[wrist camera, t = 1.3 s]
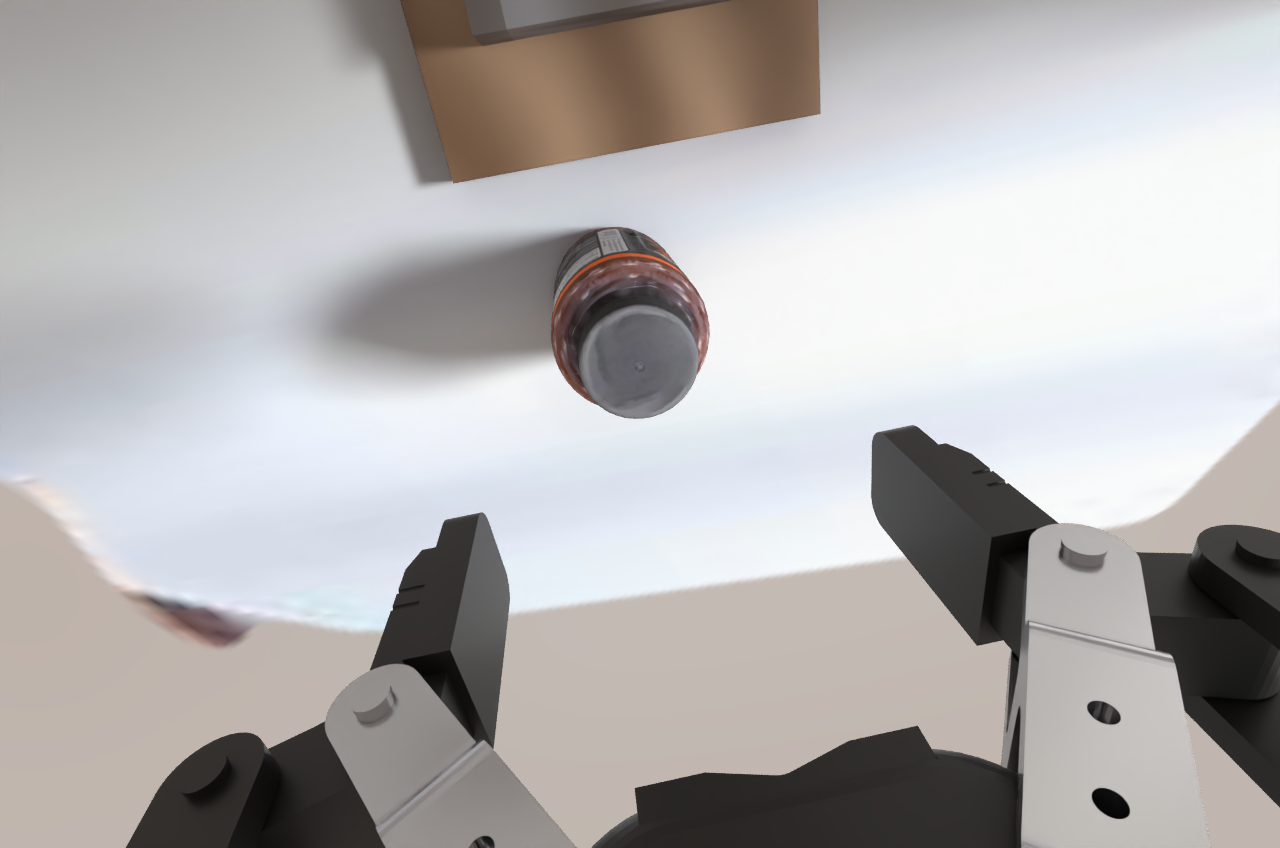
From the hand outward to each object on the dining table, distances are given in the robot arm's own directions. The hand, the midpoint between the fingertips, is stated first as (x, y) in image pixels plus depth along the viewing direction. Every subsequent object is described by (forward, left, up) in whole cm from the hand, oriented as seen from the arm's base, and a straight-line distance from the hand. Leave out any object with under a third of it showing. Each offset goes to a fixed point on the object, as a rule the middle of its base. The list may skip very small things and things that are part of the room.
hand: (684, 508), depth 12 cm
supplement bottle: (0, 0, -20) cm, 20 cm away
